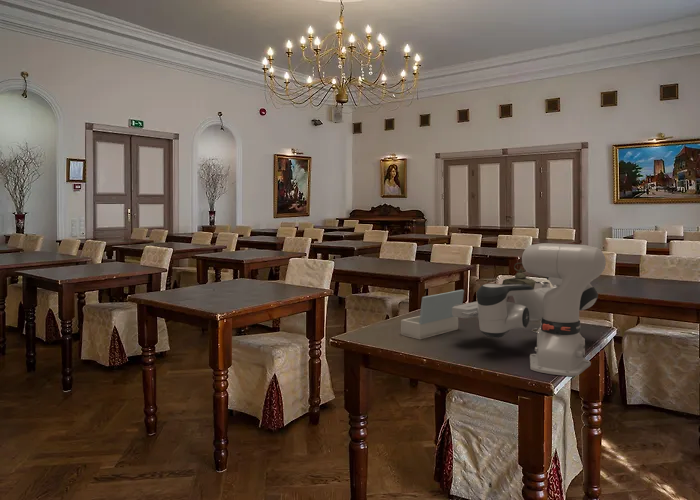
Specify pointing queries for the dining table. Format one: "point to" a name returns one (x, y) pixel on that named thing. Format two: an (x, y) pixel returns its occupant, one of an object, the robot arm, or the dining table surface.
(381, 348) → the dining table surface
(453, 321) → the white open box
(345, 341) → the dining table surface
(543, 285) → the wineglass
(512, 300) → the tabletop clock
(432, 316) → the panel
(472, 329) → the dining table surface
